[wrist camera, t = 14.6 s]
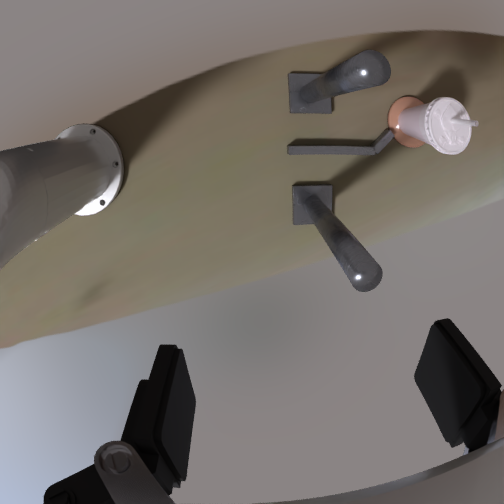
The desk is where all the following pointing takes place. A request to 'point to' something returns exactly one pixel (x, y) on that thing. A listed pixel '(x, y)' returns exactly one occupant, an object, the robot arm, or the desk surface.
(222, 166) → the desk surface
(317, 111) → the post
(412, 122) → the smoothie
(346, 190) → the desk surface
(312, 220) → the post
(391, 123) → the coaster
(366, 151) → the bent rail
